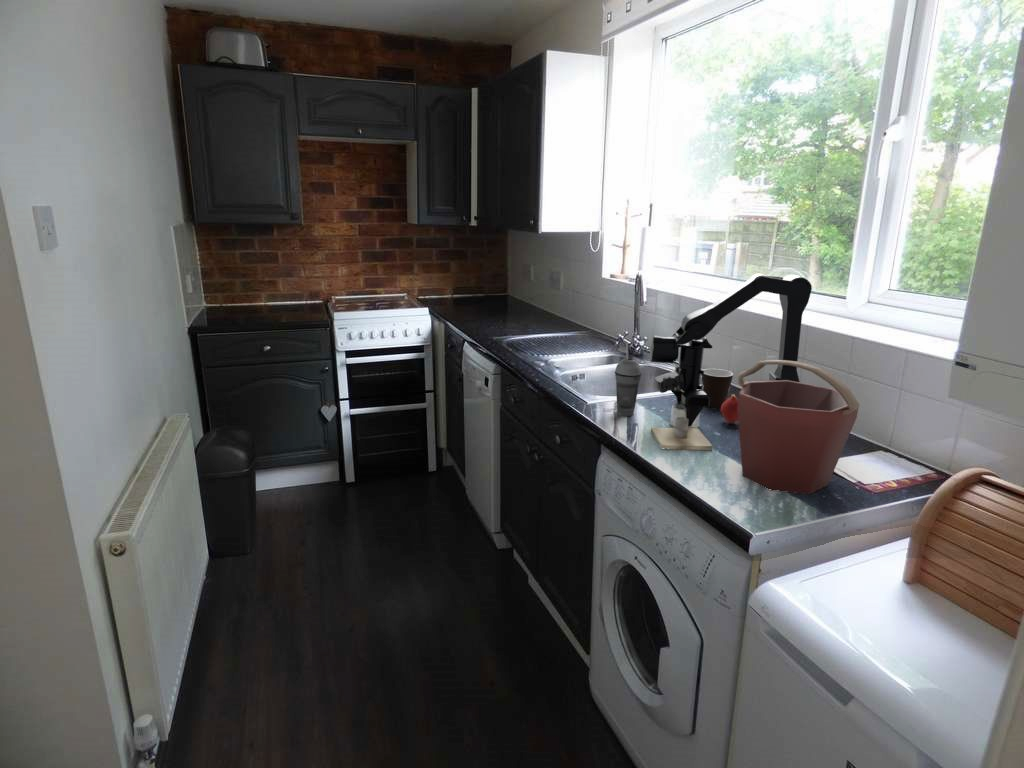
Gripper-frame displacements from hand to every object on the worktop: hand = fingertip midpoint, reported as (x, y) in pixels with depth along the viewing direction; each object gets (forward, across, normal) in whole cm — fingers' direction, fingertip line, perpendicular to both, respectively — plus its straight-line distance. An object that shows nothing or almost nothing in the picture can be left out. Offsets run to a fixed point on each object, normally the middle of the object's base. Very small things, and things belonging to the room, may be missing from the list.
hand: (684, 421), depth 164 cm
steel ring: (+1, 0, 0) cm, 1 cm away
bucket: (+1, +31, +13) cm, 34 cm away
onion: (+1, -2, +13) cm, 13 cm away
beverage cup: (+1, -9, -14) cm, 17 cm away
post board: (+1, +11, -4) cm, 12 cm away
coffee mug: (+1, -18, +14) cm, 23 cm away
